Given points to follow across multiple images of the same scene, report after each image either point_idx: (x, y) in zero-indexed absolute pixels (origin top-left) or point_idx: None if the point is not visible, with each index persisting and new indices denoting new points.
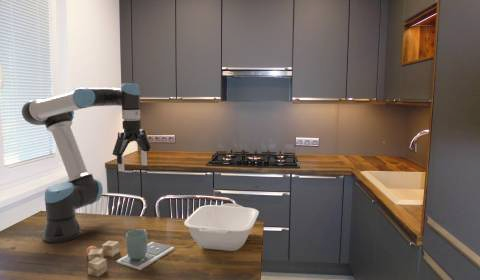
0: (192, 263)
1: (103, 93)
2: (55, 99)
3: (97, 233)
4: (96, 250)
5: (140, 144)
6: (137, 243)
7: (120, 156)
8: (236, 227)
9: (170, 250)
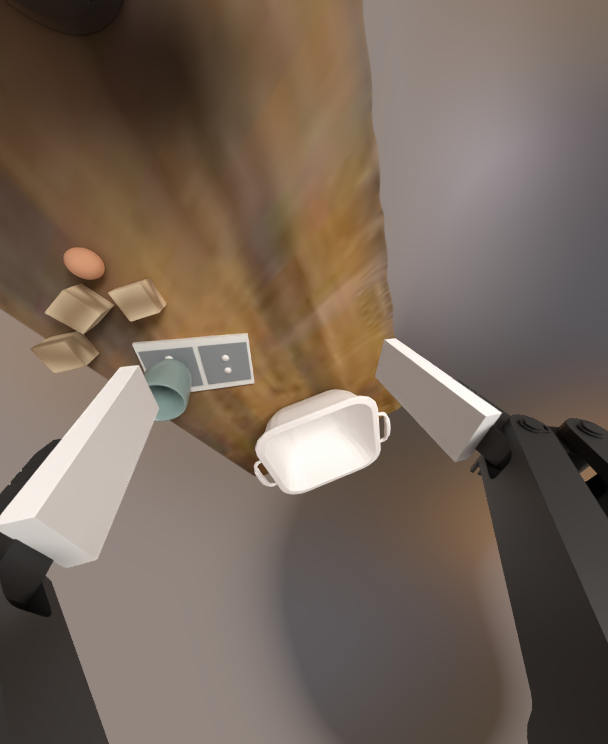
0: (234, 427)
1: None
2: None
3: (185, 107)
4: (78, 309)
5: (527, 565)
6: None
7: (29, 565)
8: (350, 421)
9: (242, 384)
